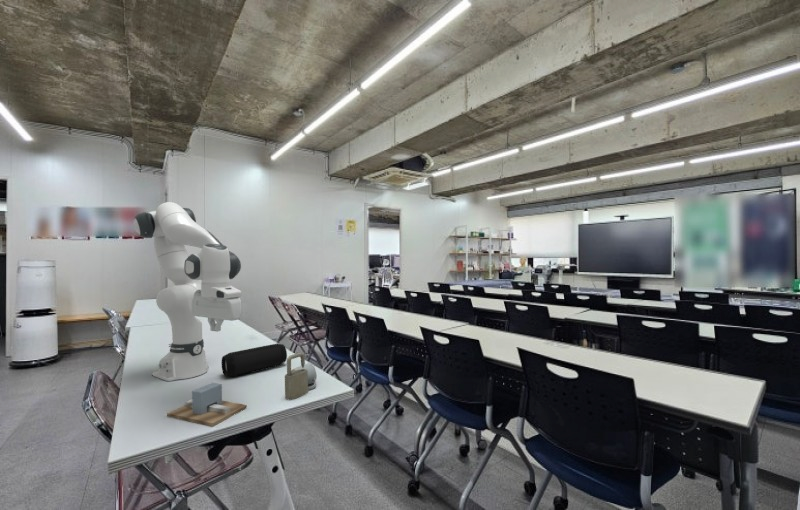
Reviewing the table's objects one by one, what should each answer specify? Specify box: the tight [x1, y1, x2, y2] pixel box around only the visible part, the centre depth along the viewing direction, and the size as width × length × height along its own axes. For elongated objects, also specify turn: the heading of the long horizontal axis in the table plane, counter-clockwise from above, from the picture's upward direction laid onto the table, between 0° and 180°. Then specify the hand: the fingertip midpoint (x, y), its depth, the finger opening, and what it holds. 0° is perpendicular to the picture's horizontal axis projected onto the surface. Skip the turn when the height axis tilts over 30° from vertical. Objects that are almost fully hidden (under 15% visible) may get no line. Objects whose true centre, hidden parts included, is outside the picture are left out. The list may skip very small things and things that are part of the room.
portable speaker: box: [221, 343, 288, 378], centre depth 153 cm, size 26×10×10 cm, turn 132°
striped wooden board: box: [166, 399, 248, 428], centre depth 113 cm, size 20×13×2 cm, turn 68°
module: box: [191, 382, 223, 415], centre depth 113 cm, size 4×8×7 cm, turn 158°
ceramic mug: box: [291, 362, 317, 391], centre depth 133 cm, size 11×8×8 cm
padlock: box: [284, 352, 309, 401], centre depth 124 cm, size 4×8×15 cm, turn 144°
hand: (215, 330), depth 119 cm, fingers closed
